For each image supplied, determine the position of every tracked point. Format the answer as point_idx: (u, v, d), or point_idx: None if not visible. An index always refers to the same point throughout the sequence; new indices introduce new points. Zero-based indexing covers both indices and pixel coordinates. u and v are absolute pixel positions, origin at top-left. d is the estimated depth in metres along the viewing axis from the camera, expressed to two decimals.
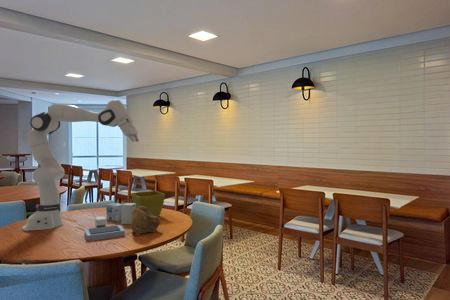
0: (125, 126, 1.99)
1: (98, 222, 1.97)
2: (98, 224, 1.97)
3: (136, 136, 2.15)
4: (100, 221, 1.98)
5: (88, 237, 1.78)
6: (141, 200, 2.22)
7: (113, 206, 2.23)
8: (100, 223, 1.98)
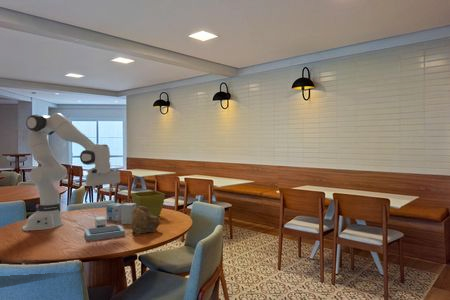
0: (87, 177, 1.95)
1: (98, 222, 1.97)
2: (98, 224, 1.97)
3: (113, 185, 2.04)
4: (100, 221, 1.98)
5: (88, 237, 1.78)
6: (141, 200, 2.22)
7: (113, 206, 2.23)
8: (100, 223, 1.98)
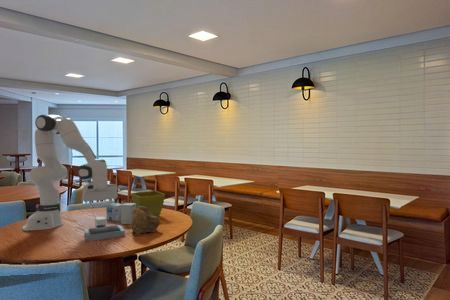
0: (83, 192, 1.95)
1: (98, 222, 1.97)
2: (98, 224, 1.97)
3: (110, 200, 2.03)
4: (100, 221, 1.98)
5: (88, 237, 1.78)
6: (141, 200, 2.22)
7: (113, 206, 2.23)
8: (100, 223, 1.98)
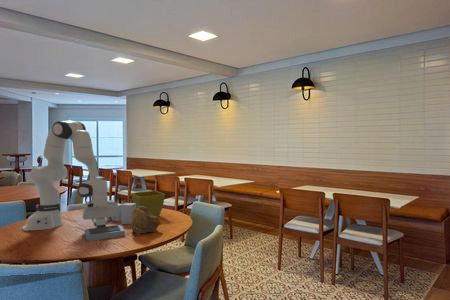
0: (83, 211, 1.95)
1: (98, 222, 1.97)
2: (98, 224, 1.97)
3: None
4: (100, 221, 1.98)
5: (88, 237, 1.78)
6: (141, 200, 2.22)
7: None
8: (100, 223, 1.98)
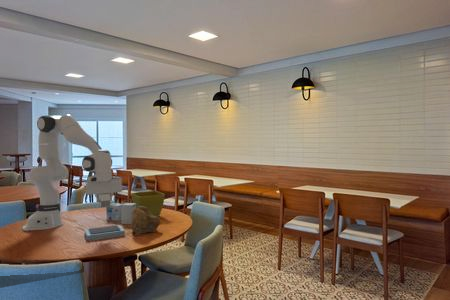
0: (86, 185, 1.82)
1: (102, 197, 1.84)
2: (102, 199, 1.84)
3: (111, 194, 1.90)
4: (104, 196, 1.85)
5: (88, 237, 1.78)
6: (141, 200, 2.22)
7: (113, 206, 2.23)
8: (104, 198, 1.85)
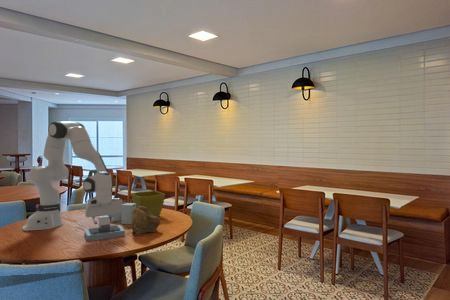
0: (86, 208, 1.82)
1: (102, 221, 1.84)
2: (102, 224, 1.84)
3: (114, 216, 1.90)
4: (104, 220, 1.84)
5: (88, 237, 1.78)
6: (141, 200, 2.22)
7: None
8: (104, 223, 1.84)
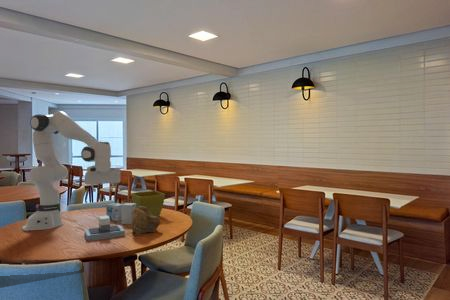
0: (85, 175, 1.88)
1: (102, 221, 1.84)
2: (102, 224, 1.84)
3: (112, 185, 1.96)
4: (104, 220, 1.84)
5: (88, 237, 1.78)
6: (141, 200, 2.22)
7: (113, 206, 2.23)
8: (104, 223, 1.84)
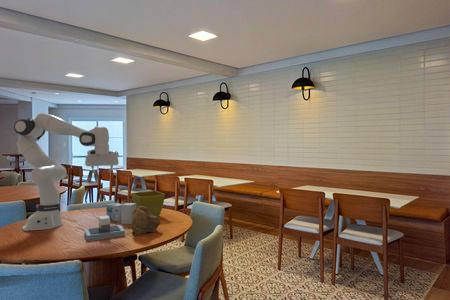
0: (86, 157, 2.05)
1: (102, 221, 1.84)
2: (102, 224, 1.84)
3: None
4: (104, 220, 1.84)
5: (88, 237, 1.78)
6: (141, 200, 2.22)
7: (113, 206, 2.23)
8: (104, 223, 1.84)
